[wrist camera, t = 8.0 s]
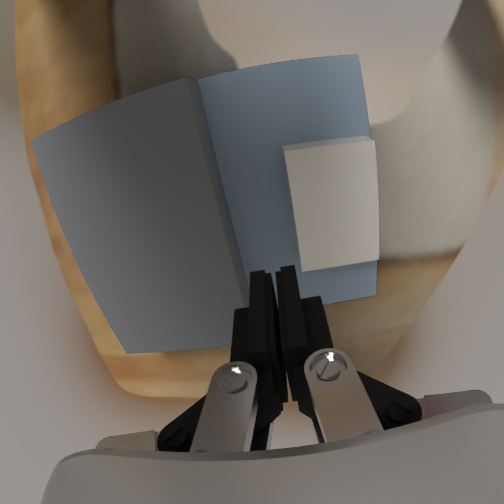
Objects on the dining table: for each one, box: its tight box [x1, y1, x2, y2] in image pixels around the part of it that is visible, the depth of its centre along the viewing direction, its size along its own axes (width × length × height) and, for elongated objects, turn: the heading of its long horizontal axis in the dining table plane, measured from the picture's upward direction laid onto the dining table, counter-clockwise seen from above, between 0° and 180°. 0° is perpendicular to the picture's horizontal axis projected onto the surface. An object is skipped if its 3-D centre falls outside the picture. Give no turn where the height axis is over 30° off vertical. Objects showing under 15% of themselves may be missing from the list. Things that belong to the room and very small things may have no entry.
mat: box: [198, 55, 377, 305], centre depth 23 cm, size 20×11×1 cm, turn 11°
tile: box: [282, 136, 379, 272], centre depth 22 cm, size 9×6×2 cm, turn 11°
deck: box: [31, 77, 249, 353], centre depth 23 cm, size 20×12×4 cm, turn 11°
